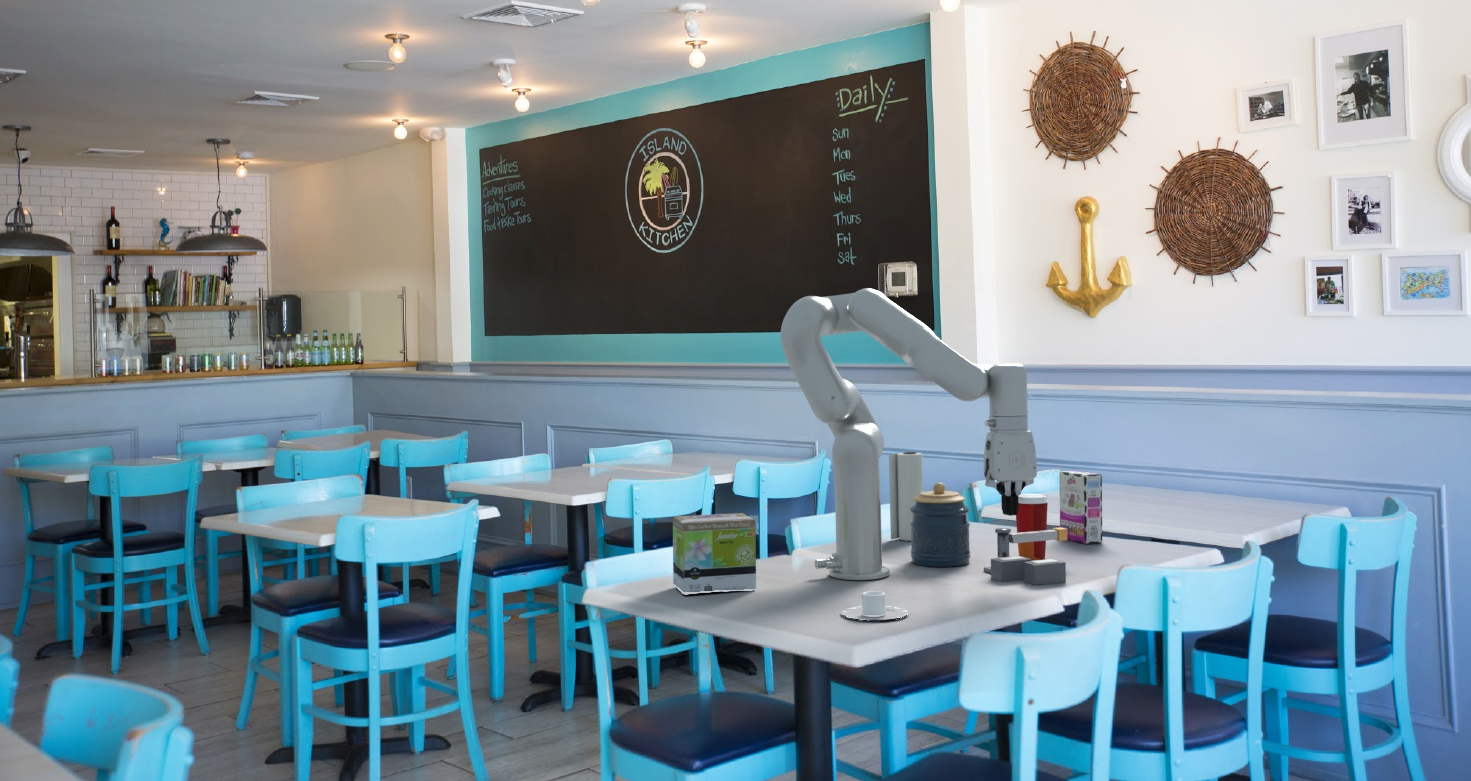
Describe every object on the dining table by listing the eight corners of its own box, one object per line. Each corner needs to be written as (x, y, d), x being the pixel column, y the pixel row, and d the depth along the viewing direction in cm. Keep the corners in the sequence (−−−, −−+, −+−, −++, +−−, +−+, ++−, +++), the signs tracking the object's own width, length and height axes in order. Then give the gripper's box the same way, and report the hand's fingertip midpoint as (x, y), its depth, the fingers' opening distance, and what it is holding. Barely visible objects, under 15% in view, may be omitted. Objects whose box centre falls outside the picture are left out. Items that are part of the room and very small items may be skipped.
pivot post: (999, 576, 246) (998, 532, 246) (983, 571, 252) (982, 528, 251) (1024, 573, 248) (1023, 530, 248) (1008, 568, 254) (1007, 526, 253)
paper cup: (1046, 555, 268) (1046, 492, 268) (1052, 561, 261) (1051, 497, 260) (1011, 555, 269) (1010, 493, 268) (1016, 561, 261) (1015, 497, 261)
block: (1001, 581, 240) (1001, 560, 240) (991, 578, 244) (990, 557, 244) (1031, 578, 243) (1031, 558, 243) (1020, 575, 247) (1020, 554, 246)
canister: (899, 561, 266) (897, 482, 265) (946, 555, 272) (944, 477, 271) (934, 570, 254) (933, 487, 254) (982, 563, 260) (981, 483, 259)
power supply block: (1035, 585, 236) (1035, 564, 236) (1024, 581, 240) (1024, 560, 240) (1065, 582, 238) (1065, 561, 238) (1054, 578, 242) (1053, 557, 242)
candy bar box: (1104, 543, 281) (1103, 473, 281) (1085, 544, 280) (1084, 475, 279) (1076, 536, 292) (1075, 469, 291) (1059, 537, 291) (1058, 470, 290)
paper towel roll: (927, 538, 295) (926, 451, 294) (917, 542, 289) (916, 454, 289) (900, 536, 298) (899, 451, 297) (890, 540, 293) (888, 453, 292)
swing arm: (1013, 545, 249) (1013, 533, 249) (1007, 543, 251) (1007, 531, 251) (1067, 540, 253) (1067, 528, 253) (1060, 538, 256) (1060, 527, 255)
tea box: (684, 597, 234) (682, 522, 233) (673, 587, 243) (670, 515, 243) (757, 591, 238) (756, 517, 237) (744, 582, 247) (742, 510, 247)
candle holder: (904, 608, 220) (904, 585, 220) (912, 624, 208) (912, 599, 208) (839, 609, 221) (839, 586, 221) (843, 625, 209) (843, 600, 209)
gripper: (986, 427, 236) (987, 519, 237) (1050, 423, 241) (1052, 514, 242) (966, 425, 243) (968, 515, 244) (1030, 421, 248) (1031, 509, 249)
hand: (1010, 514), depth 243 cm, fingers closed
